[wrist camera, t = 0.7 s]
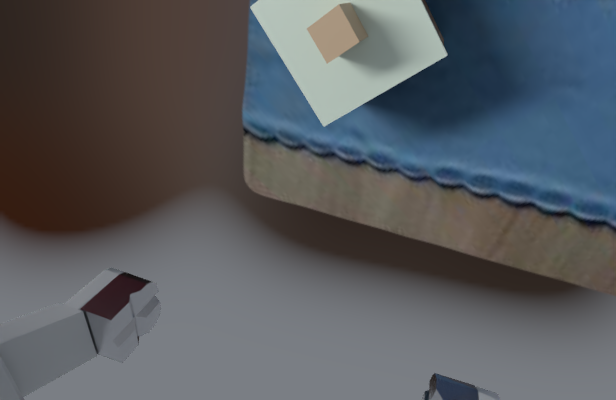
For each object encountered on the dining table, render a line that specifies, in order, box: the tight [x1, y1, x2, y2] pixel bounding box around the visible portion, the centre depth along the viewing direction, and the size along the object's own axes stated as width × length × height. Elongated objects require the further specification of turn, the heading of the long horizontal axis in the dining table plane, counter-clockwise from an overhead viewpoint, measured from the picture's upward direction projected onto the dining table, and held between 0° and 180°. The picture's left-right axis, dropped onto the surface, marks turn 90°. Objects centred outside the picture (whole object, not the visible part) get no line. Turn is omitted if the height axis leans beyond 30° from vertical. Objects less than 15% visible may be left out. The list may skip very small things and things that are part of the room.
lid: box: [250, 0, 448, 126], centre depth 30 cm, size 12×12×5 cm
